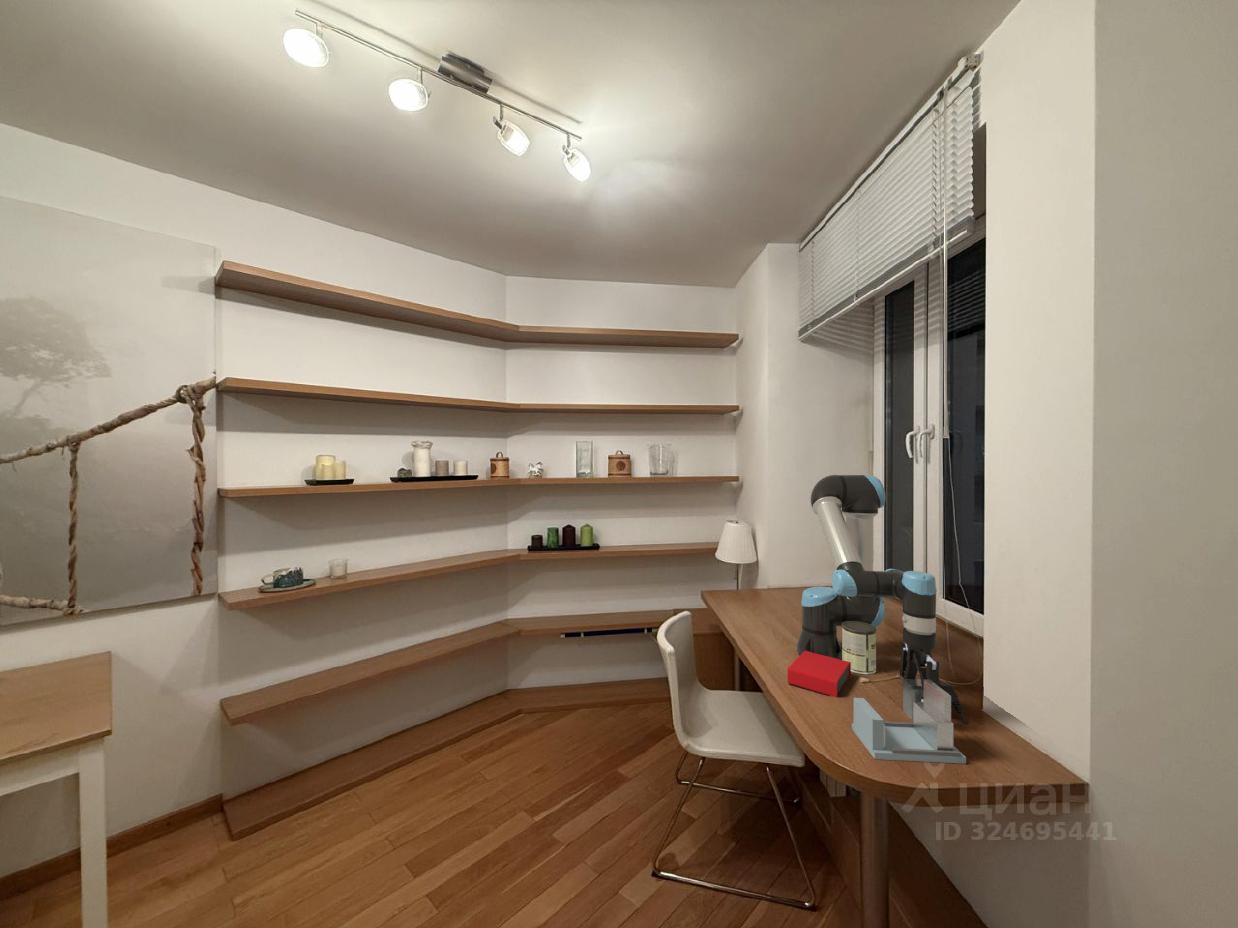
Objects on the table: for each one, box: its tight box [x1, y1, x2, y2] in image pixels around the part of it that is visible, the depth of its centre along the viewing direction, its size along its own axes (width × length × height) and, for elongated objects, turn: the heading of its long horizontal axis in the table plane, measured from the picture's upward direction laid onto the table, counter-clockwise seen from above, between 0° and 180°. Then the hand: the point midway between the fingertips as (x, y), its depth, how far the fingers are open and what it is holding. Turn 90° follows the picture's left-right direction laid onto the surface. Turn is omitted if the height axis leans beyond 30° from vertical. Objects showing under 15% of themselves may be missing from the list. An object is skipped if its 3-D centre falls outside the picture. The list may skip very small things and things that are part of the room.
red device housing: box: [787, 651, 852, 698], centre depth 143 cm, size 18×14×5 cm
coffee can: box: [841, 621, 877, 675], centre depth 151 cm, size 10×10×14 cm
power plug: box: [939, 680, 969, 725], centre depth 125 cm, size 6×8×12 cm
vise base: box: [851, 697, 967, 765], centre depth 109 cm, size 12×20×8 cm, turn 86°
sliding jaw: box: [912, 679, 954, 751], centre depth 109 cm, size 10×4×12 cm, turn 176°
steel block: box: [902, 678, 924, 720], centre depth 122 cm, size 4×6×9 cm, turn 86°
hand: (918, 714), depth 122 cm, fingers open, 7 cm apart
